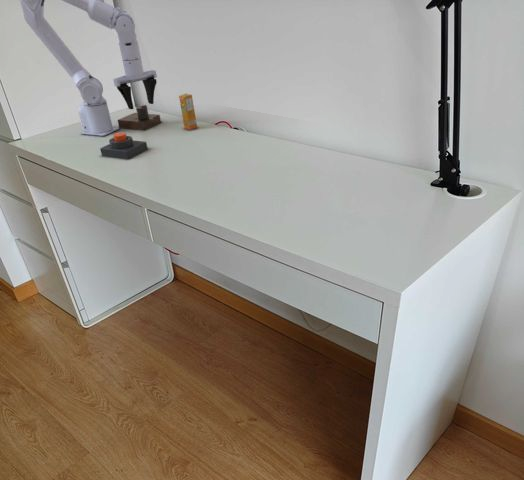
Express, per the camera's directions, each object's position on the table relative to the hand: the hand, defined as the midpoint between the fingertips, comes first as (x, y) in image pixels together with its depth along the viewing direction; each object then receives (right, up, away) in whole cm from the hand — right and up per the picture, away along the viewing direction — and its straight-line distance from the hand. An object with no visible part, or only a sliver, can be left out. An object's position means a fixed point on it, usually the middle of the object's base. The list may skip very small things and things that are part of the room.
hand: (141, 106), depth 163 cm
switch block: (-1, -22, -16) cm, 27 cm away
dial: (0, -3, +2) cm, 4 cm away
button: (-1, -19, -19) cm, 27 cm away
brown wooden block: (-2, -4, +6) cm, 7 cm away
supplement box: (+16, -8, -1) cm, 18 cm away
